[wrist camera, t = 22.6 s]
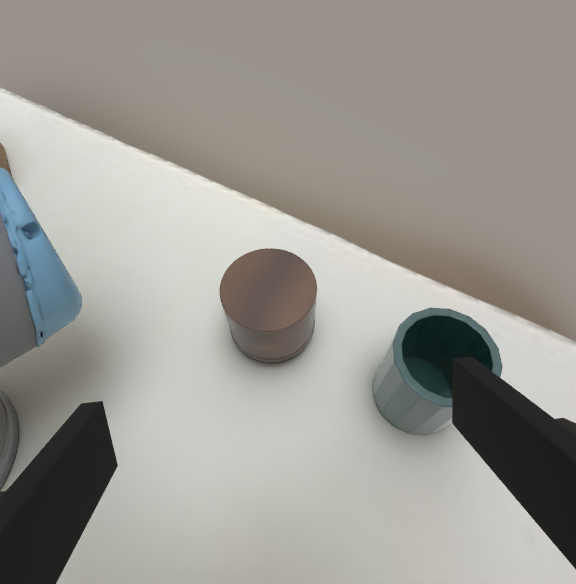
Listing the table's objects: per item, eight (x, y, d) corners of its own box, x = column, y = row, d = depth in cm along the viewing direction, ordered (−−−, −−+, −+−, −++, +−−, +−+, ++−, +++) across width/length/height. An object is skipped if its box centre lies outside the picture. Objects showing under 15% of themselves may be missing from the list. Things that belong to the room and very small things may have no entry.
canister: (360, 411, 38) (378, 377, 30) (388, 341, 42) (411, 293, 34) (443, 450, 36) (489, 427, 28) (465, 374, 40) (510, 332, 32)
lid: (217, 346, 42) (199, 307, 35) (257, 283, 46) (249, 235, 39) (291, 382, 40) (290, 348, 32) (326, 312, 44) (333, 268, 37)
